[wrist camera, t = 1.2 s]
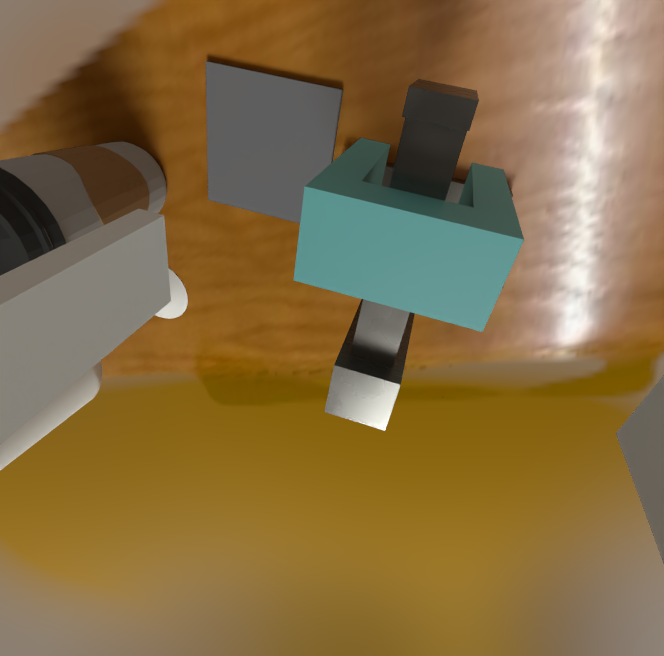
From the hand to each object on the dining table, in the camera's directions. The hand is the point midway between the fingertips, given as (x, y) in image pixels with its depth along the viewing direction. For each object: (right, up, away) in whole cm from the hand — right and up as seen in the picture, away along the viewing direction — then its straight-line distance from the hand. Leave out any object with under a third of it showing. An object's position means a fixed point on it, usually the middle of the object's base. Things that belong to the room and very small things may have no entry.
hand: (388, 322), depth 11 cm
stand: (+5, +10, +20) cm, 23 cm away
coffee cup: (-18, +13, +26) cm, 34 cm away
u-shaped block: (+3, +7, +10) cm, 13 cm away
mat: (-6, +13, +21) cm, 26 cm away
